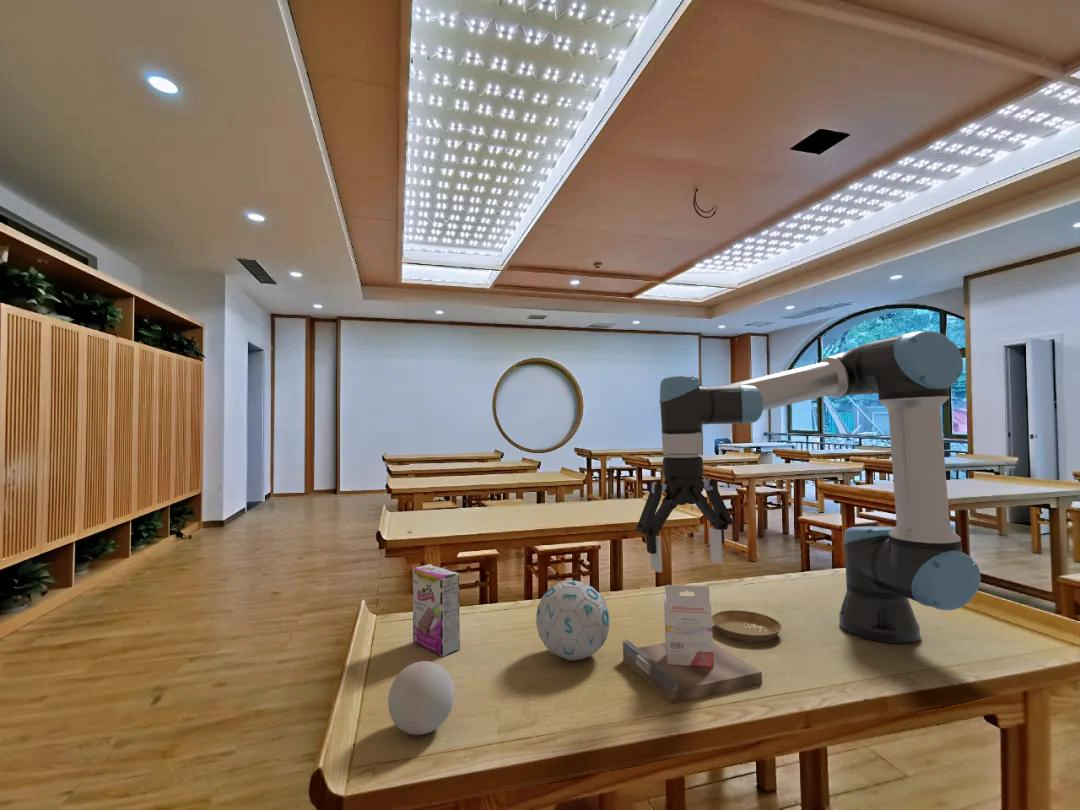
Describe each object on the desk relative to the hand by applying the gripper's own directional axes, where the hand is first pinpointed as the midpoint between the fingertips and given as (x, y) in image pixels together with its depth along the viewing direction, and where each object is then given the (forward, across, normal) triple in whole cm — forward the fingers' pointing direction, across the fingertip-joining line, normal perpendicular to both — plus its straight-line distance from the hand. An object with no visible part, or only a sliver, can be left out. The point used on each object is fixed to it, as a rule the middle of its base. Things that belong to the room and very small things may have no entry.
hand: (687, 566), depth 97 cm
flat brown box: (+20, +1, 0) cm, 20 cm away
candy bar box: (+19, +45, -29) cm, 57 cm away
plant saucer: (+20, -22, -11) cm, 32 cm away
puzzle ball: (+20, +19, -14) cm, 30 cm away
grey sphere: (+19, +51, +1) cm, 54 cm away
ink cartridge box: (+18, 0, 0) cm, 18 cm away
